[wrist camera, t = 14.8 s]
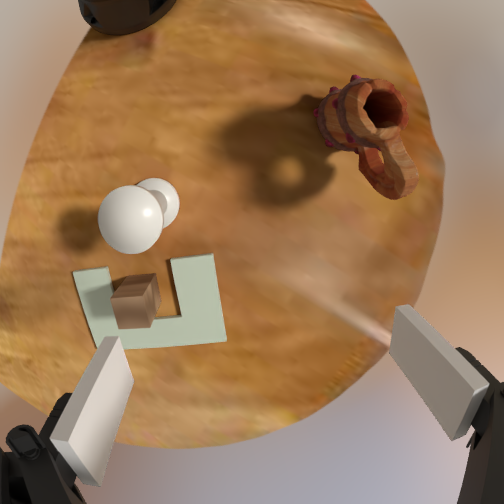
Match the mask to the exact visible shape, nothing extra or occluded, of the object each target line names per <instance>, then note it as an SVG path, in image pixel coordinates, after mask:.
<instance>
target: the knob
mask: <svg viewBox="0 0 504 504" xmlns="http://www.w3.org/2000/svg"><path fill="white" fill-rule="evenodd" d="M179 207H180V201H179V196H178V193H177V191H176V189H175V188H174V187H173V185H172V184H170V183H169V182H168V181H166V180H164V179H160V178H150V179H146V180H144V181H142V182H140V183H139V184H137V185H128V186H123V187H120V188H117V189H115V190H113V191H112V192H110V193H109V194H108V195H107V196H106V197H105V199H104V200H103V202H102V204H101V206H100V209H99V213H98V224H99V229H100V232H101V234H102V236H103V238H104V239H105V241H106V242H107V243H108V244H109V245H110V246H111V247H112V248H114V249H115V250H117V251H119V252H122V253H126V254H137V253H141V252H143V251H145V250H147V249H148V248H150V247H151V246H152V245H153V244H154V243H155V242H156V240H157V239H158V238H159V236H160V234H161V232H162V229H163V228H165V227H167V226H168V225H169V224H170V223H171V222H172V221H173V220H174V219H175V217H176V216H177V214H178V211H179Z"/></svg>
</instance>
